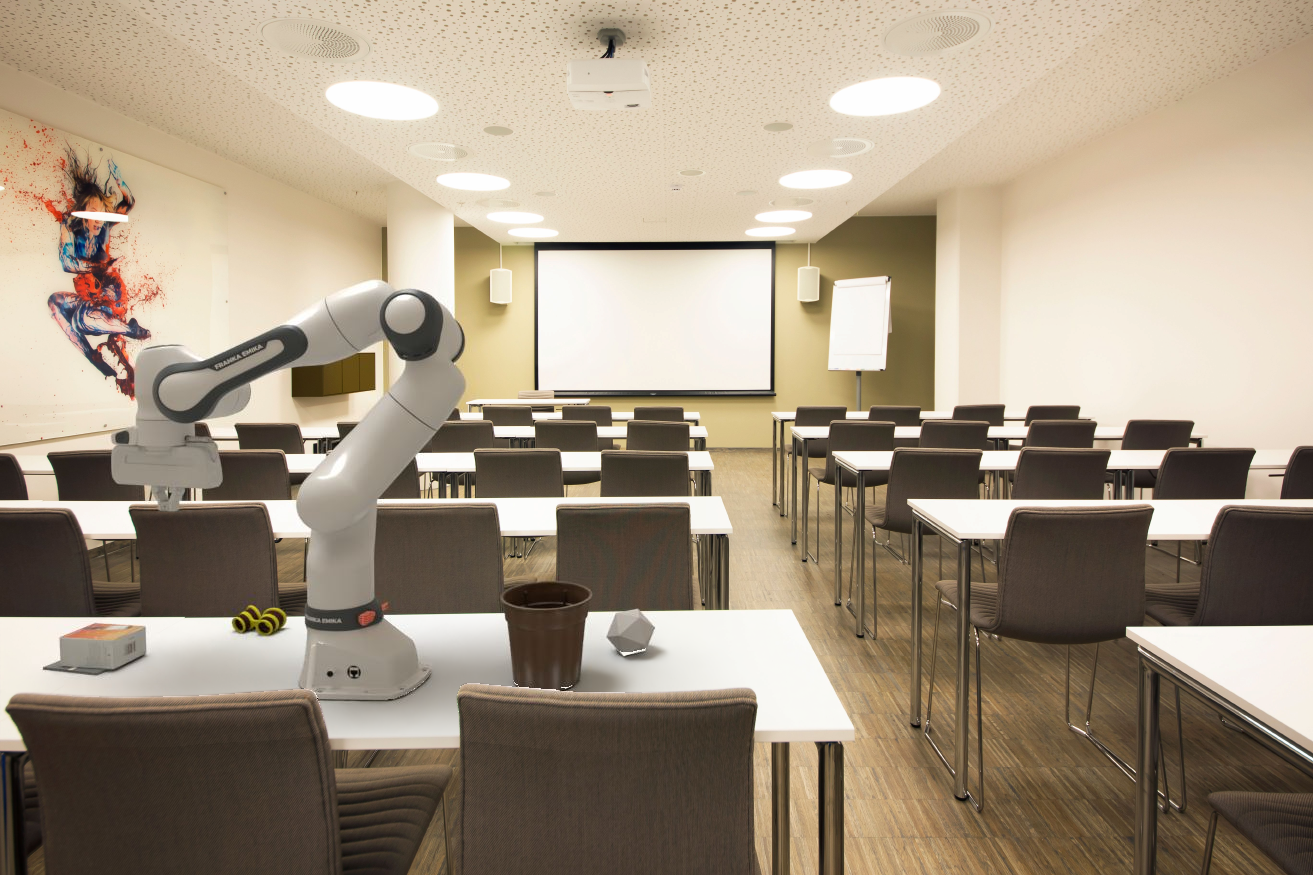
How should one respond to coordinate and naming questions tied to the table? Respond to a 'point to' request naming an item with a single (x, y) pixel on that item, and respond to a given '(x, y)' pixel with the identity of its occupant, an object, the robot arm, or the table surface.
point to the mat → (74, 669)
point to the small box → (102, 646)
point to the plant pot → (546, 632)
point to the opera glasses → (260, 620)
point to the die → (630, 631)
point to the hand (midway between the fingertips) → (168, 510)
